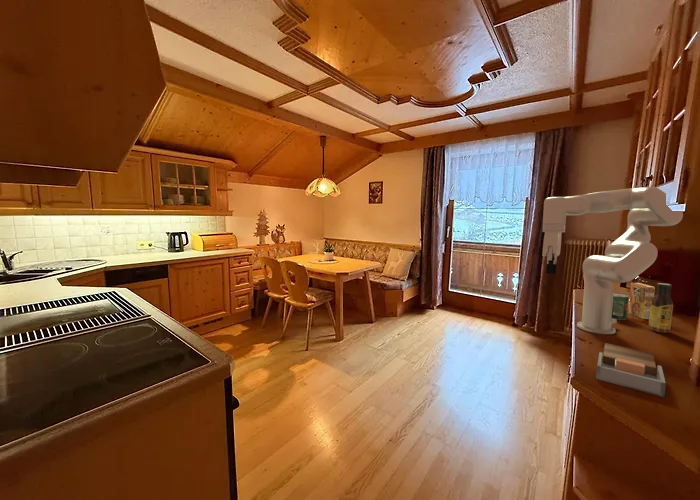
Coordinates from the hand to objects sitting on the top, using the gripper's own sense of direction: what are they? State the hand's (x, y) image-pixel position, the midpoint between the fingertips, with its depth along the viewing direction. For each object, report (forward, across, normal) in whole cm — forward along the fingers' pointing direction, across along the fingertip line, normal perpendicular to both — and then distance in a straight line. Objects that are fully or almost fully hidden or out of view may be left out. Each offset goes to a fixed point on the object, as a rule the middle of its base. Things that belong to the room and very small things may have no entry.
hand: (551, 273), depth 120 cm
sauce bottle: (+25, -31, +34) cm, 53 cm away
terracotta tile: (+22, +25, +24) cm, 41 cm away
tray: (+25, +26, +24) cm, 43 cm away
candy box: (+25, -50, +29) cm, 63 cm away
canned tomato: (+25, -41, +20) cm, 53 cm away
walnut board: (+25, +13, +24) cm, 37 cm away
